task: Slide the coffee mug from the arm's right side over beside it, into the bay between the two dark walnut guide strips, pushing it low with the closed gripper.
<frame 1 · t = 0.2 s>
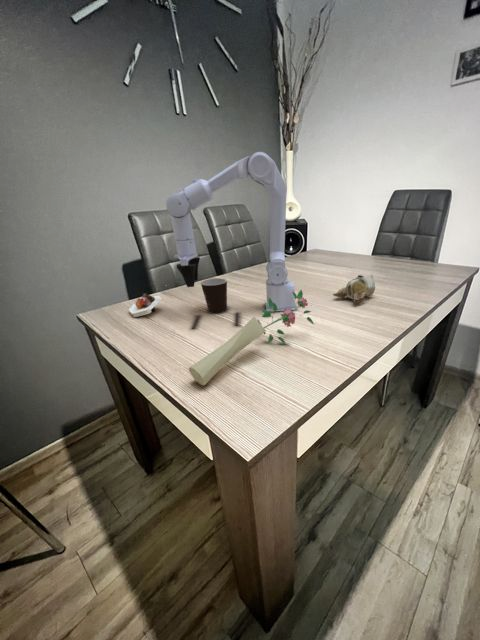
hand: (192, 283, 90), 10 cm above the table, tool pointing down, fingers open, 7 cm apart
guide strips: (216, 320, 87), on the table
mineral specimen: (147, 312, 97), on the table
flower vase: (255, 354, 68), on the table
coffee mug: (219, 308, 97), on the table
ceramic sculpture: (356, 299, 98), on the table
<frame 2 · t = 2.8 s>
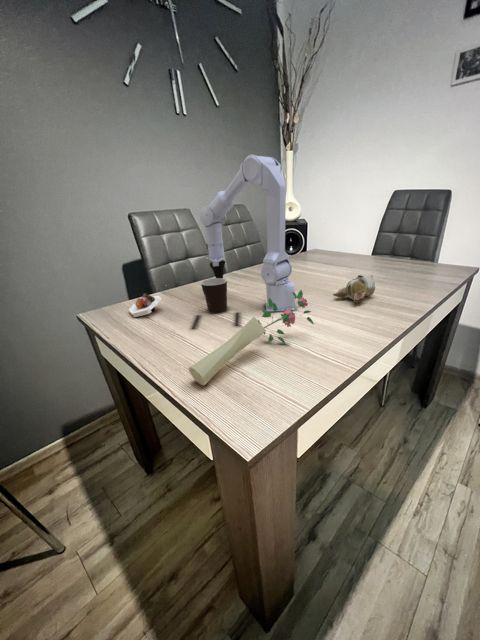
hand: (219, 281, 106), 6 cm above the table, tool pointing down, fingers closed
nothing on the table moved.
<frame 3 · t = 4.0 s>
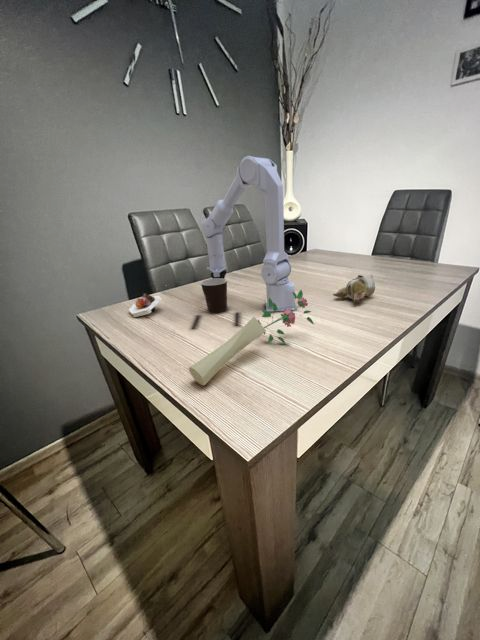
hand: (220, 290, 106), 3 cm above the table, tool pointing down, fingers closed
nothing on the table moved.
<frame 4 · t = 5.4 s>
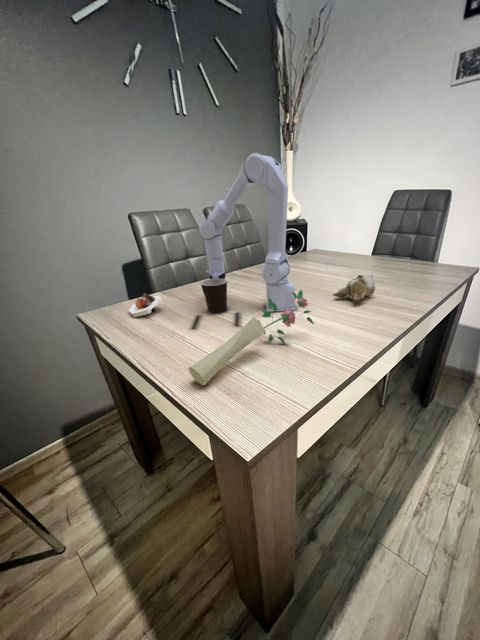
hand: (220, 294, 103), 2 cm above the table, tool pointing down, fingers closed
coffee mug: (219, 309, 97), on the table, touching gripper
everything else where it was.
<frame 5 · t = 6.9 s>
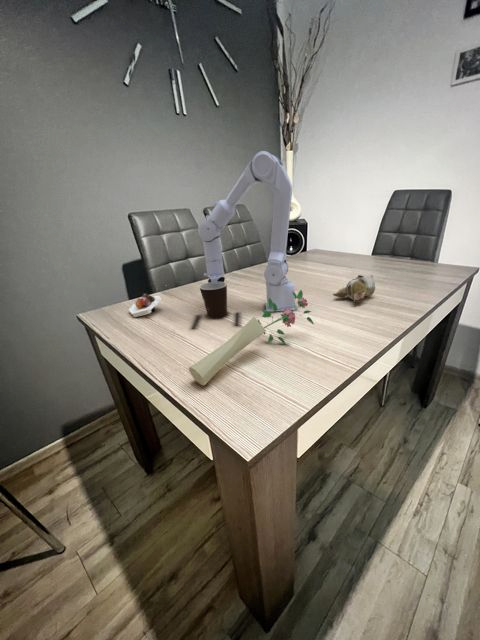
hand: (219, 298, 99), 2 cm above the table, tool pointing down, fingers closed
coffee mug: (218, 313, 93), on the table, touching gripper
everything else where it was.
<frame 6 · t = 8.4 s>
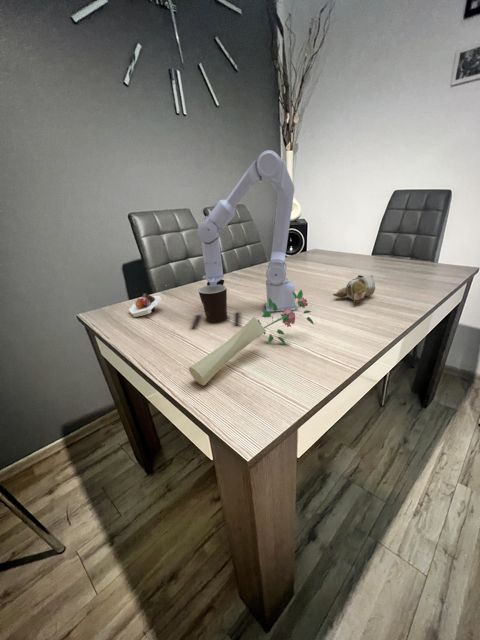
hand: (218, 301, 96), 2 cm above the table, tool pointing down, fingers closed
coffee mug: (218, 317, 90), on the table, touching gripper
everything else where it was.
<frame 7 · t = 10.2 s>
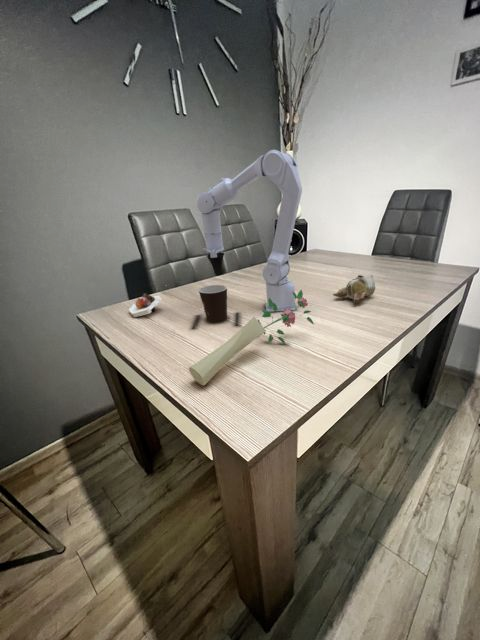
hand: (218, 274, 98), 10 cm above the table, tool pointing down, fingers closed
coffee mug: (218, 317, 90), on the table
everything else where it was.
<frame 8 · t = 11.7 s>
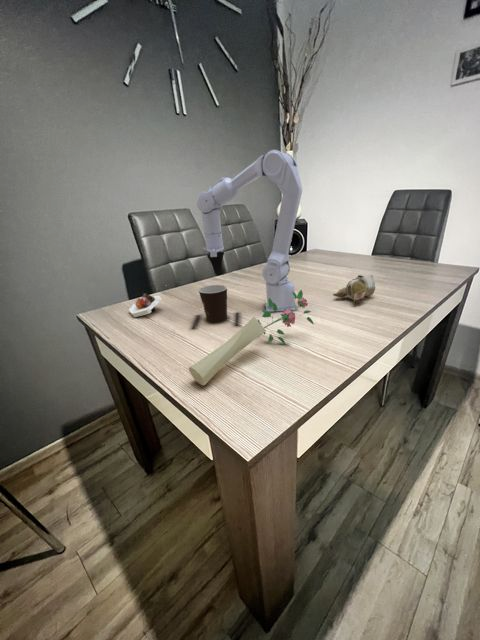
hand: (218, 274, 98), 10 cm above the table, tool pointing down, fingers closed
nothing on the table moved.
at the end: coffee mug inside the target area (2.4 cm from its centre), on the table; coffee mug tilted 0°; coffee mug moved 8.2 cm from its start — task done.
